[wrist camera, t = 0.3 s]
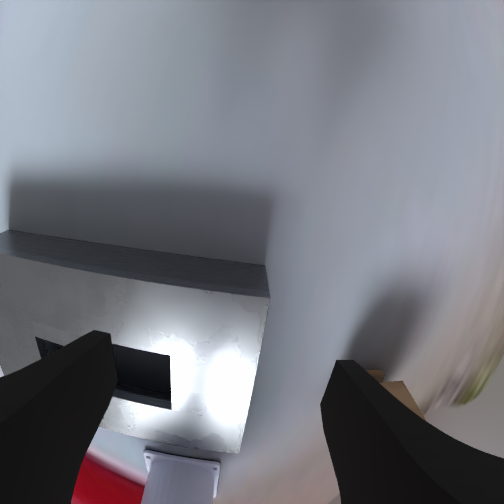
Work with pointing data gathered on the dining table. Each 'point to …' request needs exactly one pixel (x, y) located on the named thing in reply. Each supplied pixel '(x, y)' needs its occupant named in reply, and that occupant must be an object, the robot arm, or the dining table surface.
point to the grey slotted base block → (142, 328)
